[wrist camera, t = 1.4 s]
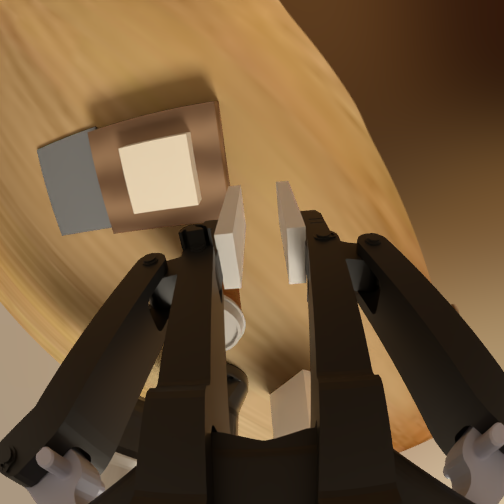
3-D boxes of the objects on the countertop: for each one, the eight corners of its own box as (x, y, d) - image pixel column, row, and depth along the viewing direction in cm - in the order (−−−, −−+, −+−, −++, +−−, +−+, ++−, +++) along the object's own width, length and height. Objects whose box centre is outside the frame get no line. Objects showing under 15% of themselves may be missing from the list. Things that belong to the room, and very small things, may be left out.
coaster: (201, 198, 32) (198, 205, 31) (140, 207, 33) (134, 214, 31) (190, 131, 28) (186, 133, 27) (125, 145, 29) (118, 148, 27)
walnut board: (233, 207, 37) (230, 219, 34) (125, 221, 38) (113, 233, 35) (218, 101, 30) (213, 101, 27) (102, 128, 31) (87, 132, 28)
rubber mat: (120, 225, 38) (119, 226, 38) (63, 234, 39) (62, 235, 39) (96, 126, 31) (94, 126, 31) (38, 149, 32) (36, 149, 31)
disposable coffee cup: (259, 283, 43) (259, 342, 33) (207, 305, 46) (196, 362, 35) (226, 233, 39) (215, 286, 29) (172, 261, 41) (149, 316, 31)
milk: (307, 404, 62) (317, 498, 40) (269, 394, 59) (272, 498, 37) (341, 381, 57) (361, 484, 35) (303, 369, 54) (316, 486, 32)
